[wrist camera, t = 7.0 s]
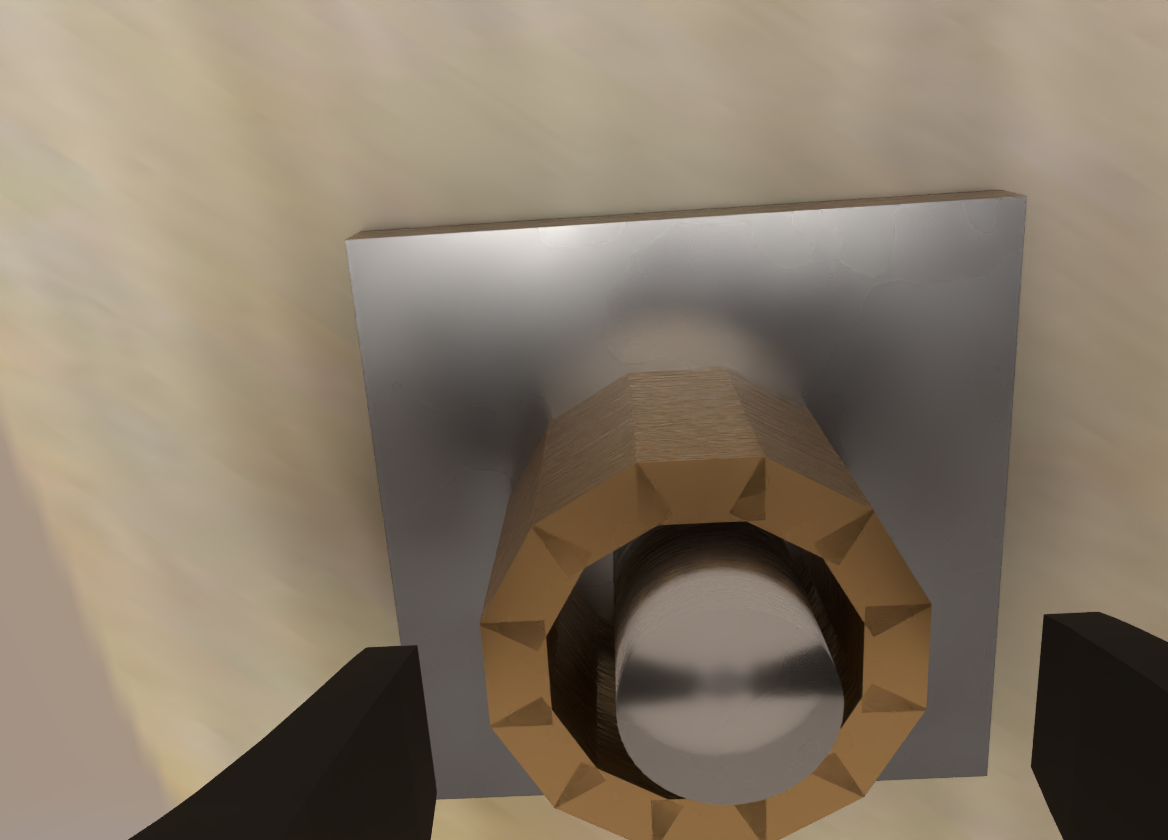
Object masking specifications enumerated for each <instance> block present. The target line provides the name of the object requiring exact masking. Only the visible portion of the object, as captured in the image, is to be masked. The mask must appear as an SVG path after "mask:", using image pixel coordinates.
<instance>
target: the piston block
mask: <svg viewBox="0 0 1168 840" xmlns="http://www.w3.org/2000/svg"><path fill="white" fill-rule="evenodd" d="M1026 200H1027V196H1024V195H1020V194H1016V193H1011V192H1007V191H1003V190H993V191H978V192H962V193H947V194H931V195H916V196H901V197H885V198H870V199H854V200H839V201H824V202H808V203H793V204H777V205H762V206H747V207H731V208H716V209H700V210H685V211H670V212H654V213H639V214H623V215H608V216H592V217H577V218H562V219H546V220H531V221H515V222H500V223H485V224H469V225H454V226H438V227H423V228H408V229H392V230H377V231H361V232H359V233H357V234H355V235H353V236H352V237H350V238H348V239H346V240H345V244H346V251H347V259H348V266H349V273H350V280H351V287H352V295H353V302H354V309H355V316H356V324H357V331H358V338H359V345H360V352H361V360H362V367H363V374H364V381H365V389H366V396H367V403H368V410H369V417H370V425H371V432H372V439H373V446H374V453H375V461H376V468H377V475H378V482H379V490H380V497H381V504H382V511H383V518H384V526H385V533H386V540H387V547H388V555H389V562H390V569H391V576H392V583H393V591H394V598H395V605H396V612H397V619H398V627H399V634H400V641H401V646H409V645H418V653H419V660H420V668H421V675H422V683H423V690H424V698H425V705H426V713H427V720H428V728H429V735H430V743H431V751H432V758H433V766H434V773H435V781H436V788H437V797H436V800H437V799H461V798H484V797H507V796H531V795H544V794H543V792H542V791H541V790H540V789H539V787H538V786H537V785H536V784H535V782H534V781H533V780H532V779H531V777H530V776H529V775H528V773H527V772H526V771H525V770H524V768H523V767H522V766H521V765H520V763H519V762H518V761H517V760H516V758H515V757H514V756H513V755H512V753H511V752H510V751H509V750H508V748H507V747H506V746H505V745H504V743H503V742H502V741H501V739H500V738H499V737H498V736H497V734H496V733H495V732H494V731H493V729H492V728H490V718H489V709H488V699H487V689H486V679H485V669H484V660H483V650H482V640H481V630H480V620H481V616H482V612H483V607H484V603H485V599H486V595H487V590H488V586H489V582H490V578H491V573H492V569H493V565H494V561H495V556H496V552H497V548H498V544H499V539H500V535H501V531H502V527H503V522H504V518H505V514H506V510H507V506H508V501H509V499H510V497H511V495H512V493H513V491H514V489H515V487H516V485H517V483H518V481H519V479H520V478H521V476H522V474H523V472H524V470H525V468H526V466H527V464H528V462H529V460H530V458H531V456H532V454H533V452H534V451H535V449H536V447H537V445H538V443H539V441H540V439H541V437H542V435H543V433H544V431H545V429H546V427H547V425H548V423H549V422H550V421H552V420H553V419H555V418H556V417H558V416H560V415H561V414H563V413H564V412H566V411H568V410H569V409H571V408H572V407H574V406H576V405H577V404H579V403H580V402H582V401H584V400H585V399H587V398H588V397H590V396H592V395H593V394H595V393H596V392H598V391H600V390H601V389H603V388H604V387H606V386H608V385H609V384H611V383H612V382H614V381H616V380H617V379H619V378H620V377H622V376H624V375H625V374H627V373H628V372H647V371H666V370H686V369H705V368H723V367H724V368H726V369H728V370H730V371H732V372H734V373H736V374H738V375H740V376H742V377H744V378H746V379H748V380H750V381H752V382H754V383H756V384H758V385H760V386H762V387H764V388H766V389H768V390H770V391H772V392H774V393H776V394H778V395H780V396H782V397H784V398H786V399H788V400H790V401H792V402H794V403H796V404H798V405H800V406H802V407H804V408H806V409H808V410H809V412H810V413H811V415H812V416H813V418H814V419H815V421H816V422H817V424H818V425H819V427H820V428H821V430H822V431H823V433H824V434H825V436H826V437H827V439H828V441H829V442H830V444H831V445H832V447H833V448H834V450H835V451H836V453H837V454H838V456H839V457H840V459H841V460H842V462H843V463H844V465H845V466H846V468H847V469H848V471H849V473H850V474H851V476H852V477H853V479H854V480H855V482H856V483H857V485H858V486H859V488H860V489H861V491H862V492H863V494H864V495H865V497H866V498H867V500H868V502H869V503H870V505H871V506H872V508H873V509H874V512H875V513H876V515H877V517H878V518H879V520H880V521H881V523H882V525H883V526H884V528H885V530H886V531H887V533H888V534H889V536H890V538H891V539H892V541H893V543H894V544H895V546H896V547H897V549H898V551H899V552H900V554H901V556H902V557H903V559H904V560H905V562H906V564H907V565H908V567H909V569H910V570H911V572H912V573H913V575H914V577H915V578H916V580H917V582H918V583H919V585H920V586H921V588H922V589H923V591H924V592H925V594H926V596H927V597H928V599H929V600H930V602H931V603H932V611H931V629H930V648H929V666H928V684H927V703H926V708H927V709H926V711H925V712H924V713H923V715H922V716H921V718H920V719H919V720H918V722H917V723H916V725H915V726H914V727H913V729H912V730H911V732H910V733H909V734H908V736H907V737H906V739H905V740H904V741H903V743H902V744H901V746H900V747H899V748H898V750H897V751H896V753H895V754H894V755H893V757H892V758H891V760H890V761H889V762H888V764H887V765H886V767H885V768H884V769H883V771H882V772H881V774H880V775H879V776H878V778H877V779H876V781H880V780H904V779H927V778H950V777H974V776H987V769H988V754H989V739H990V725H991V710H992V696H993V681H994V667H995V652H996V638H997V623H998V608H999V594H1000V579H1001V565H1002V550H1003V536H1004V521H1005V506H1006V492H1007V477H1008V463H1009V448H1010V434H1011V419H1012V404H1013V390H1014V375H1015V361H1016V346H1017V332H1018V317H1019V302H1020V288H1021V273H1022V259H1023V244H1024V230H1025V215H1026ZM801 558H802V548H801V547H799V546H797V545H795V544H793V543H791V542H789V541H786V540H784V539H782V538H780V537H778V536H776V535H774V534H772V533H770V532H768V531H766V530H764V529H761V528H759V527H757V526H755V525H753V524H751V523H749V522H747V521H738V522H716V523H695V524H673V525H657V526H655V527H654V528H652V529H650V530H649V531H647V532H645V533H644V534H642V535H640V536H638V537H637V538H635V539H633V540H632V541H630V542H628V543H627V544H625V545H623V546H621V547H620V548H618V549H616V550H615V551H613V552H611V553H610V554H608V555H606V556H604V557H603V558H601V559H599V560H598V561H596V562H594V563H592V564H591V565H589V566H587V567H586V568H584V569H583V571H582V573H581V575H580V577H579V578H578V580H577V582H576V585H577V587H578V588H579V590H580V591H581V592H582V594H583V595H584V596H585V598H586V599H587V601H588V602H589V603H590V605H591V606H592V607H593V609H594V610H595V611H596V613H597V614H598V616H601V617H603V618H605V619H607V620H609V621H612V622H614V631H615V680H616V718H617V725H618V730H619V733H620V736H621V740H622V742H623V744H624V746H625V749H626V751H627V753H628V754H629V756H630V757H631V759H632V760H633V762H634V763H635V764H636V765H637V766H638V768H639V769H640V770H641V771H642V772H643V773H644V774H645V775H646V776H647V777H649V778H650V779H651V780H652V781H653V782H655V783H656V784H658V785H659V786H661V787H662V788H664V789H666V790H668V791H670V792H672V793H674V794H676V795H678V796H681V797H684V798H686V799H689V800H693V801H697V802H701V803H708V804H716V805H736V804H746V803H751V802H756V801H761V800H764V799H767V798H770V797H773V796H775V795H778V794H780V793H782V792H784V791H786V790H788V789H790V788H792V787H793V786H795V785H797V784H798V783H800V782H801V781H802V780H804V779H805V778H806V777H808V776H809V775H810V774H811V773H812V772H813V771H814V770H815V769H816V768H817V767H818V766H819V765H820V764H821V763H822V761H823V760H824V759H825V758H826V756H827V755H828V754H829V752H830V750H831V748H832V747H833V745H834V743H835V741H836V739H837V736H838V734H839V731H840V728H841V723H842V719H843V711H844V697H843V689H842V684H841V680H840V677H839V675H838V672H837V669H836V667H835V664H834V662H833V659H832V657H831V655H830V652H829V650H828V647H827V645H826V642H825V640H824V637H823V635H822V632H821V630H820V628H819V625H818V623H817V620H816V618H815V615H814V613H813V610H812V608H811V605H810V603H809V601H808V598H807V596H806V593H805V591H804V588H803V586H802V583H801V581H800V578H799V576H798V574H797V571H796V569H795V567H796V566H797V564H798V563H799V561H800V559H801Z"/></svg>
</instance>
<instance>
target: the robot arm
mask: <svg viewBox="0 0 1168 840" xmlns="http://www.w3.org/2000/svg"><path fill="white" fill-rule="evenodd" d="M1031 768H1032V770H1033V773H1034V775H1035V777H1036V780H1037V782H1038V784H1039V787H1040V789H1041V791H1042V793H1043V796H1044V798H1045V800H1046V803H1047V805H1048V807H1049V810H1050V812H1051V814H1052V816H1053V818H1054V820H1055V823H1056V825H1057V827H1058V829H1059V831H1060V833H1061V835H1062V837H1063V840H1168V642H1166V641H1164V640H1162V639H1160V638H1158V637H1156V636H1154V635H1152V634H1150V633H1148V632H1145V631H1143V630H1141V629H1139V628H1137V627H1135V626H1132V625H1130V624H1128V623H1126V622H1123V621H1121V620H1119V619H1116V618H1114V617H1111V616H1108V615H1106V614H1103V613H1100V612H1085V613H1064V614H1044V619H1043V631H1042V642H1041V654H1040V666H1039V678H1038V690H1037V702H1036V714H1035V725H1034V737H1033V749H1032V761H1031ZM436 797H437V788H436V781H435V773H434V766H433V758H432V751H431V743H430V735H429V728H428V720H427V713H426V705H425V698H424V690H423V683H422V675H421V668H420V660H419V653H418V645H409V646H389V647H368V648H365V649H364V650H363V651H361V652H360V653H359V654H357V655H356V656H355V657H354V658H353V659H352V660H350V661H349V662H348V663H347V664H346V665H345V666H344V667H343V668H341V669H340V670H339V671H338V672H337V673H336V674H335V675H334V676H333V677H332V678H330V679H329V680H328V681H327V682H326V683H325V684H324V685H323V686H322V687H321V688H320V689H318V690H317V691H316V692H315V693H314V694H313V695H312V696H311V697H310V698H309V699H307V700H306V701H305V702H304V703H303V704H302V705H301V706H300V707H298V708H297V709H296V710H295V711H294V712H293V713H292V714H290V715H289V716H288V717H287V718H286V719H285V720H284V721H283V722H281V723H280V724H279V725H278V726H277V727H276V728H275V729H273V730H272V731H271V732H270V733H269V734H268V735H267V736H266V737H264V738H263V739H262V740H261V741H260V742H258V743H257V744H256V745H255V746H253V747H252V748H251V749H250V750H248V751H247V752H246V753H245V754H243V755H242V756H241V757H240V758H238V759H237V760H236V761H235V762H233V763H232V764H231V765H230V766H228V767H227V768H226V769H225V770H223V771H222V772H221V773H220V774H218V775H217V776H216V777H215V778H213V779H212V780H211V781H210V782H208V783H207V784H206V785H205V786H203V787H202V788H201V789H200V790H198V791H197V792H196V793H195V794H193V795H192V796H190V797H189V798H188V799H186V800H185V801H184V802H182V803H181V804H180V805H178V806H177V807H175V808H174V809H173V810H171V811H170V812H168V813H167V814H166V815H164V816H163V817H161V818H160V819H159V820H157V821H156V822H154V823H152V824H151V825H150V826H148V827H147V828H145V829H144V830H142V831H140V832H139V833H137V834H136V835H134V836H133V837H131V838H130V839H128V840H431V833H432V826H433V819H434V811H435V804H436Z"/></svg>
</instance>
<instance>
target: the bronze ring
mask: <svg viewBox="0 0 1168 840" xmlns="http://www.w3.org/2000/svg"><path fill="white" fill-rule="evenodd" d="M738 521H747V522H749V523H751V524H753V525H755V526H757V527H759V528H761V529H764V530H766V531H768V532H770V533H772V534H774V535H776V536H778V537H780V538H782V539H784V540H786V541H789V542H791V543H793V544H795V545H797V546H799V547H801V548H802V558H801V559H800V561H799V563H798V564H797V566H796V567H795V569H796V571H797V574H798V576H799V578H800V581H801V583H802V586H803V588H804V591H805V593H806V596H807V598H808V601H809V603H810V605H811V608H812V610H813V613H814V615H815V618H816V620H817V623H818V625H819V628H820V630H821V632H822V635H823V637H824V640H825V642H826V645H827V647H828V650H829V652H830V655H831V657H832V659H833V662H834V664H835V667H836V669H837V672H838V675H839V677H840V680H841V684H842V689H843V697H844V711H843V719H842V723H841V728H840V731H839V734H838V736H837V739H836V741H835V743H834V745H833V747H832V748H831V750H830V752H829V754H828V755H827V756H826V758H825V759H824V760H823V761H822V763H821V764H820V765H819V766H818V767H817V768H816V769H815V770H814V771H813V772H812V773H811V774H810V775H809V776H808V777H806V778H805V779H804V780H802V781H801V782H800V783H798V784H797V785H795V786H793V787H792V788H790V789H788V790H786V791H784V792H782V793H780V794H778V795H775V796H773V797H770V798H767V799H764V800H761V801H756V802H751V803H746V804H736V805H716V804H708V803H701V802H697V801H693V800H689V799H686V798H684V797H681V796H678V795H676V794H674V793H672V792H670V791H668V790H666V789H664V788H662V787H661V786H659V785H658V784H656V783H655V782H653V781H652V780H651V779H650V778H649V777H647V776H646V775H645V774H644V773H643V772H642V771H641V770H640V769H639V768H638V766H637V765H636V764H635V763H634V762H633V760H632V759H631V757H630V756H629V754H628V753H627V751H626V749H625V746H624V744H623V742H622V740H621V736H620V733H619V730H618V725H617V718H616V680H615V631H614V622H612V621H609V620H607V619H605V618H603V617H601V616H598V614H597V613H596V611H595V610H594V609H593V607H592V606H591V605H590V603H589V602H588V601H587V599H586V598H585V596H584V595H583V594H582V592H581V591H580V590H579V588H578V587H577V585H576V582H577V580H578V578H579V577H580V575H581V573H582V571H583V569H584V568H586V567H587V566H589V565H591V564H592V563H594V562H596V561H598V560H599V559H601V558H603V557H604V556H606V555H608V554H610V553H611V552H613V551H615V550H616V549H618V548H620V547H621V546H623V545H625V544H627V543H628V542H630V541H632V540H633V539H635V538H637V537H638V536H640V535H642V534H644V533H645V532H647V531H649V530H650V529H652V528H654V527H655V526H657V525H673V524H695V523H716V522H738ZM931 611H932V603H931V602H930V600H929V599H928V597H927V596H926V594H925V592H924V591H923V589H922V588H921V586H920V585H919V583H918V582H917V580H916V578H915V577H914V575H913V573H912V572H911V570H910V569H909V567H908V565H907V564H906V562H905V560H904V559H903V557H902V556H901V554H900V552H899V551H898V549H897V547H896V546H895V544H894V543H893V541H892V539H891V538H890V536H889V534H888V533H887V531H886V530H885V528H884V526H883V525H882V523H881V521H880V520H879V518H878V517H877V515H876V513H875V512H874V509H873V508H872V506H871V505H870V503H869V502H868V500H867V498H866V497H865V495H864V494H863V492H862V491H861V489H860V488H859V486H858V485H857V483H856V482H855V480H854V479H853V477H852V476H851V474H850V473H849V471H848V469H847V468H846V466H845V465H844V463H843V462H842V460H841V459H840V457H839V456H838V454H837V453H836V451H835V450H834V448H833V447H832V445H831V444H830V442H829V441H828V439H827V437H826V436H825V434H824V433H823V431H822V430H821V428H820V427H819V425H818V424H817V422H816V421H815V419H814V418H813V416H812V415H811V413H810V412H809V410H808V409H806V408H804V407H802V406H800V405H798V404H796V403H794V402H792V401H790V400H788V399H786V398H784V397H782V396H780V395H778V394H776V393H774V392H772V391H770V390H768V389H766V388H764V387H762V386H760V385H758V384H756V383H754V382H752V381H750V380H748V379H746V378H744V377H742V376H740V375H738V374H736V373H734V372H732V371H730V370H728V369H726V368H724V367H723V368H705V369H686V370H666V371H647V372H628V373H627V374H625V375H624V376H622V377H620V378H619V379H617V380H616V381H614V382H612V383H611V384H609V385H608V386H606V387H604V388H603V389H601V390H600V391H598V392H596V393H595V394H593V395H592V396H590V397H588V398H587V399H585V400H584V401H582V402H580V403H579V404H577V405H576V406H574V407H572V408H571V409H569V410H568V411H566V412H564V413H563V414H561V415H560V416H558V417H556V418H555V419H553V420H552V421H550V422H549V423H548V425H547V427H546V429H545V431H544V433H543V435H542V437H541V439H540V441H539V443H538V445H537V447H536V449H535V451H534V452H533V454H532V456H531V458H530V460H529V462H528V464H527V466H526V468H525V470H524V472H523V474H522V476H521V478H520V479H519V481H518V483H517V485H516V487H515V489H514V491H513V493H512V495H511V497H510V499H509V501H508V506H507V510H506V514H505V518H504V522H503V527H502V531H501V535H500V539H499V544H498V548H497V552H496V556H495V561H494V565H493V569H492V573H491V578H490V582H489V586H488V590H487V595H486V599H485V603H484V607H483V612H482V616H481V620H480V630H481V640H482V650H483V660H484V669H485V679H486V689H487V699H488V709H489V718H490V728H492V729H493V731H494V732H495V733H496V734H497V736H498V737H499V738H500V739H501V741H502V742H503V743H504V745H505V746H506V747H507V748H508V750H509V751H510V752H511V753H512V755H513V756H514V757H515V758H516V760H517V761H518V762H519V763H520V765H521V766H522V767H523V768H524V770H525V771H526V772H527V773H528V775H529V776H530V777H531V779H532V780H533V781H534V782H535V784H536V785H537V786H538V787H539V789H540V790H541V791H542V792H543V794H544V795H545V796H546V797H547V799H548V800H549V801H550V802H551V804H552V805H553V806H554V808H556V809H559V810H561V811H563V812H566V813H568V814H570V815H573V816H575V817H577V818H580V819H582V820H584V821H587V822H589V823H591V824H594V825H596V826H598V827H601V828H603V829H605V830H608V831H610V832H612V833H615V834H617V835H619V836H622V837H624V838H626V839H629V840H779V839H781V838H783V837H785V836H787V835H789V834H791V833H793V832H795V831H797V830H799V829H801V828H803V827H805V826H807V825H809V824H811V823H813V822H815V821H817V820H819V819H821V818H823V817H825V816H827V815H829V814H831V813H833V812H835V811H837V810H839V809H841V808H843V807H845V806H847V805H849V804H851V803H853V802H855V801H856V800H858V799H860V798H862V797H864V796H865V795H866V793H867V792H868V791H869V789H870V788H871V786H872V785H873V783H874V782H875V781H876V779H877V778H878V776H879V775H880V774H881V772H882V771H883V769H884V768H885V767H886V765H887V764H888V762H889V761H890V760H891V758H892V757H893V755H894V754H895V753H896V751H897V750H898V748H899V747H900V746H901V744H902V743H903V741H904V740H905V739H906V737H907V736H908V734H909V733H910V732H911V730H912V729H913V727H914V726H915V725H916V723H917V722H918V720H919V719H920V718H921V716H922V715H923V713H924V712H925V711H926V709H927V708H926V703H927V684H928V666H929V648H930V629H931Z"/></svg>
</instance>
